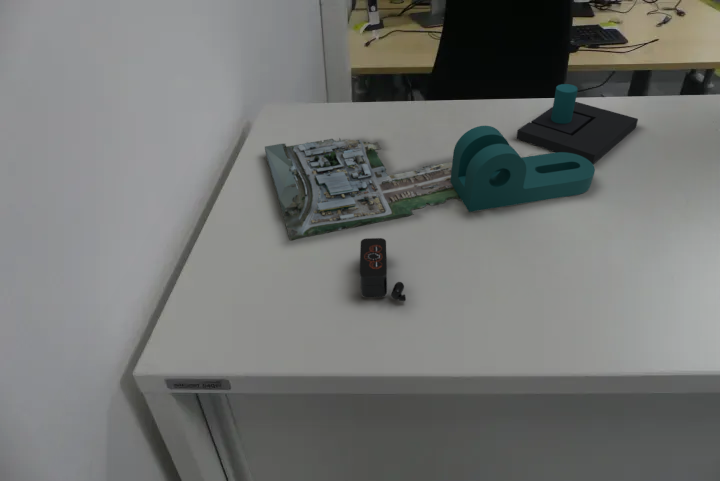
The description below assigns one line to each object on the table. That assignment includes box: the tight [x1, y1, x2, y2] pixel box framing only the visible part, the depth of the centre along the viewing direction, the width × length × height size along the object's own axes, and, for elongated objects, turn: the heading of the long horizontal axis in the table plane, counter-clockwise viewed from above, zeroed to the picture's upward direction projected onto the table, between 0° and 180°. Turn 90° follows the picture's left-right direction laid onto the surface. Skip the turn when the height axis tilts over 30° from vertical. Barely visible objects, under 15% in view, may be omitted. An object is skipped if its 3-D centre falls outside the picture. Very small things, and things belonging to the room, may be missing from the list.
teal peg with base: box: [530, 83, 591, 136], centre depth 84 cm, size 6×6×6 cm
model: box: [264, 137, 461, 241], centre depth 78 cm, size 21×30×2 cm
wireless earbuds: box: [359, 237, 407, 302], centre depth 60 cm, size 5×7×3 cm, turn 179°
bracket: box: [450, 125, 596, 213], centre depth 71 cm, size 18×7×8 cm, turn 103°
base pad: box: [516, 101, 639, 165], centre depth 84 cm, size 14×12×2 cm
